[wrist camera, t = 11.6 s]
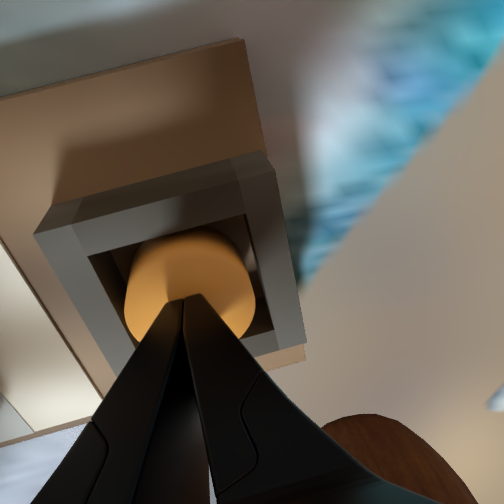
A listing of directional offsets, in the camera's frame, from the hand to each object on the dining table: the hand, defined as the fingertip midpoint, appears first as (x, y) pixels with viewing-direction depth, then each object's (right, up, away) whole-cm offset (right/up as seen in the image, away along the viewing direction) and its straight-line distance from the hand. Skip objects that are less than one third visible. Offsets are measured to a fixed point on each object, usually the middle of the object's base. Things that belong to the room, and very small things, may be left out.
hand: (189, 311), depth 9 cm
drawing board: (-5, 0, +2) cm, 6 cm away
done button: (0, +1, +1) cm, 2 cm away
